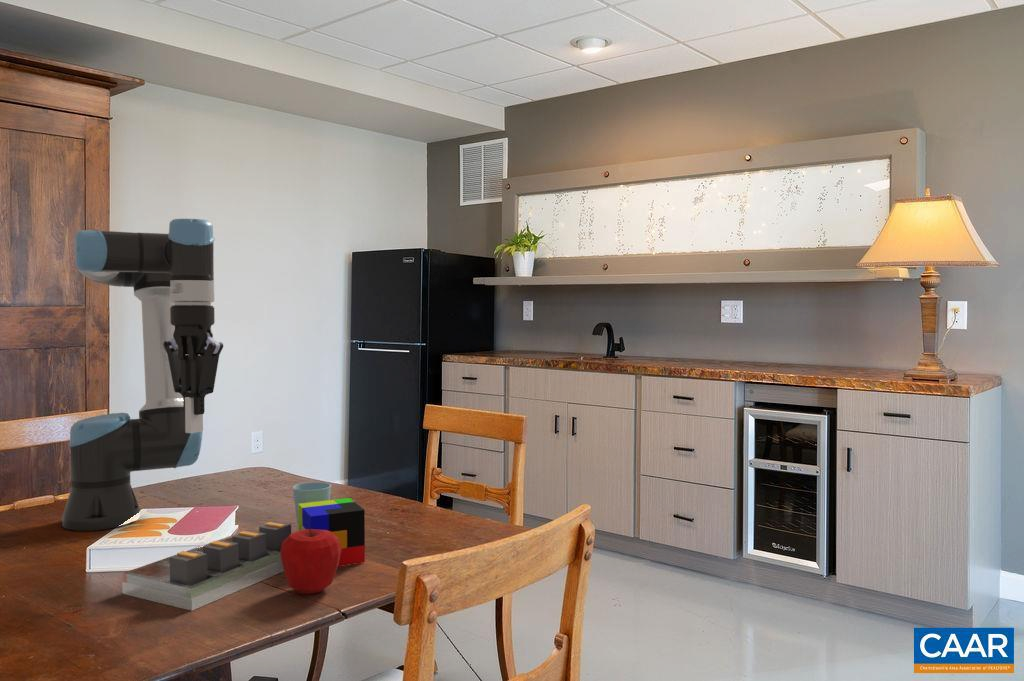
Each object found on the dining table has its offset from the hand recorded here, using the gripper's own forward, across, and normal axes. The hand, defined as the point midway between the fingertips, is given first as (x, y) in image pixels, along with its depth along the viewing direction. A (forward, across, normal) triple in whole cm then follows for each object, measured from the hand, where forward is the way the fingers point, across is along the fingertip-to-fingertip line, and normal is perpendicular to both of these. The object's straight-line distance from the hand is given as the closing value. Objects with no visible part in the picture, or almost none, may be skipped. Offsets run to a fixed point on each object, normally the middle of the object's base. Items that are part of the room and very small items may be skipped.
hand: (194, 431), depth 145 cm
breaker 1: (+22, +14, -14) cm, 29 cm away
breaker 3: (+22, +14, -1) cm, 26 cm away
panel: (+24, +10, -4) cm, 27 cm away
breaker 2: (+22, +14, -7) cm, 27 cm away
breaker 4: (+22, +14, +6) cm, 27 cm away
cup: (+25, +8, +23) cm, 35 cm away
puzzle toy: (+25, +21, +13) cm, 35 cm away
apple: (+25, +29, -2) cm, 38 cm away
